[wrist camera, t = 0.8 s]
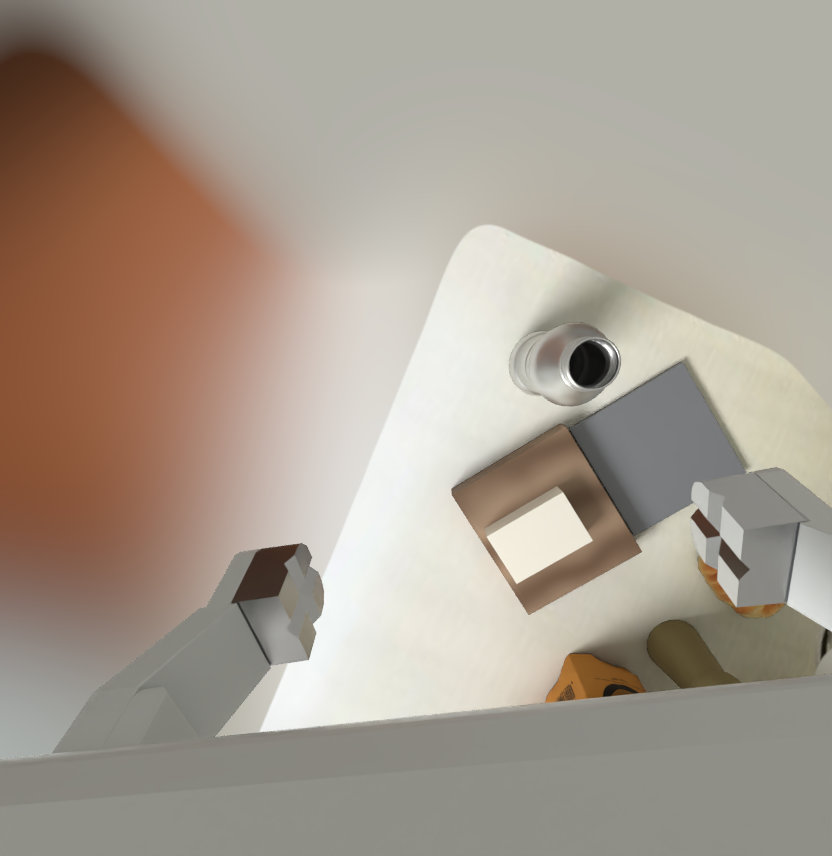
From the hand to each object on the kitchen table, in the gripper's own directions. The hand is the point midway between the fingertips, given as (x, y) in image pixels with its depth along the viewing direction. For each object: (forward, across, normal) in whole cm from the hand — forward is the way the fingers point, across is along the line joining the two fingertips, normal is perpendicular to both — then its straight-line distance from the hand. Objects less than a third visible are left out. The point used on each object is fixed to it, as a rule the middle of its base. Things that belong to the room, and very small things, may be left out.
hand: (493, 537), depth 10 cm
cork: (+31, +17, -46) cm, 58 cm away
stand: (+36, +5, -28) cm, 46 cm away
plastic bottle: (+42, +7, -13) cm, 45 cm away
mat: (+39, +18, -24) cm, 49 cm away
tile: (+34, +4, -28) cm, 44 cm away
